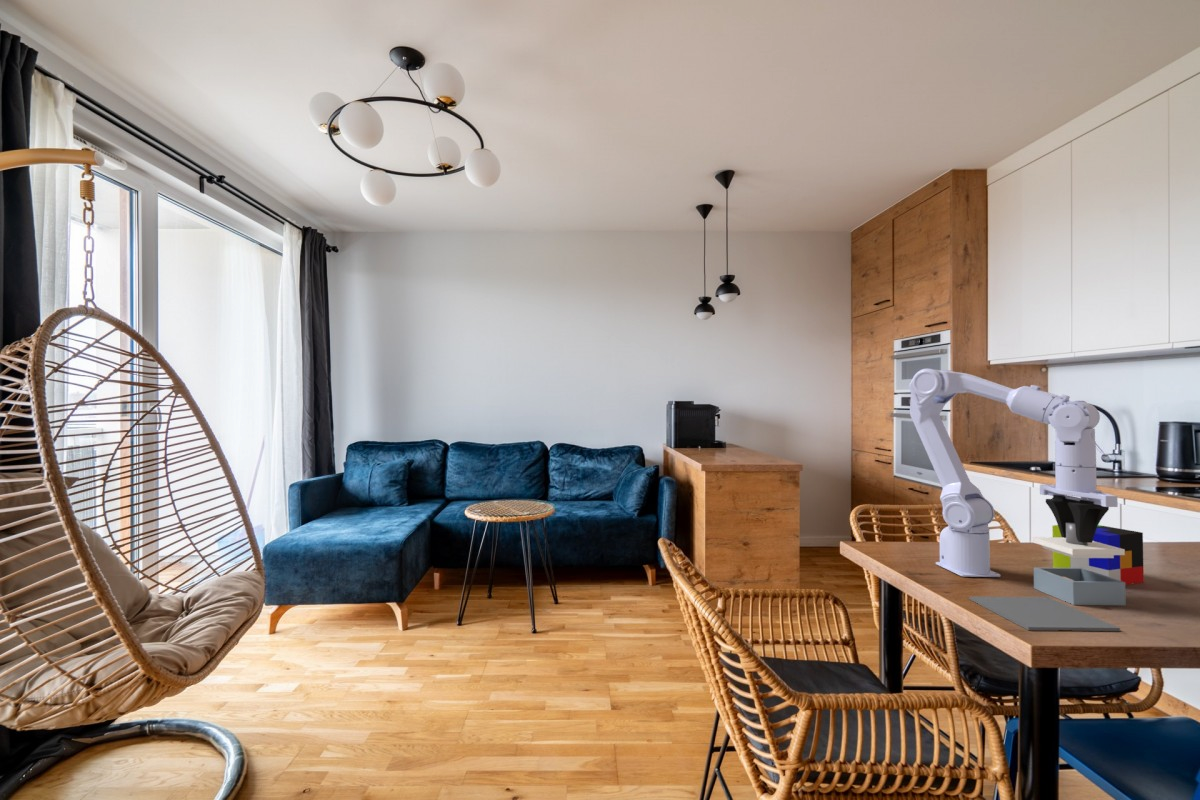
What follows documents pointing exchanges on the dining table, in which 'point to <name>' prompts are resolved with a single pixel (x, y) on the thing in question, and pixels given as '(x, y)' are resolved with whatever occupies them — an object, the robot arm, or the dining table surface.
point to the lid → (1077, 545)
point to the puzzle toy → (1118, 567)
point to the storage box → (1079, 586)
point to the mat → (1043, 614)
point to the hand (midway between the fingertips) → (1076, 539)
